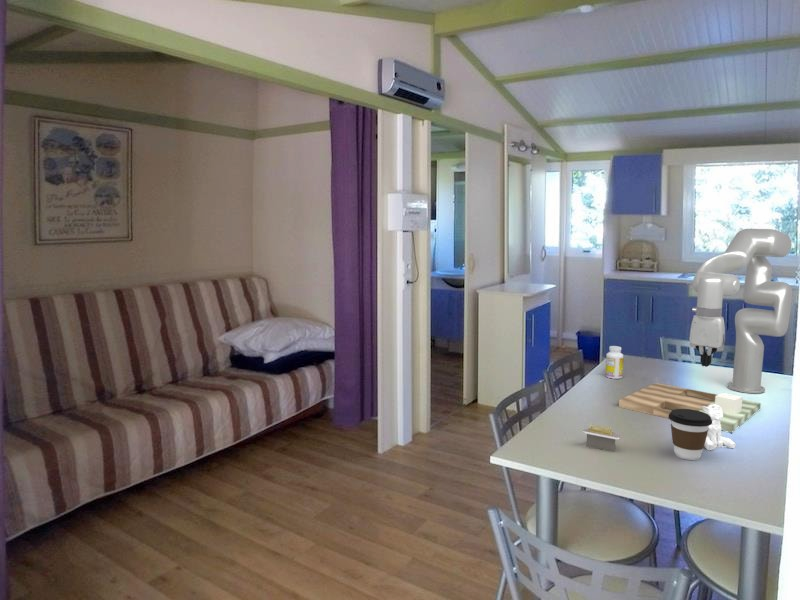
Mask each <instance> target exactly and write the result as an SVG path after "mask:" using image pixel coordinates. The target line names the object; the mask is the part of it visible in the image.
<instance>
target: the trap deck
mask: <svg viewBox="0 0 800 600" xmlns="http://www.w3.org/2000/svg"><path fill="white" fill-rule="evenodd" d="M717 395H718V394H716V393H711V392H705V391H701V390H696V389H695V390H694V389H689V388H685V387H679V386H676V385H675V386H674V385H669V384H664V383H658V382H654V383H652V384H650V385H648V386H646V387H644V388H642V389H639V390H637V391H635V392H633V393H631V394H629V395H627V396H625V397H623V398H620V399H619V400H618V408H623V409H626V410H631V411H635V412H639V413H644V414H647V415H648V414H649V415H653V416H657V417H661V418H665V419H669V418H668V416H669V414H670V412H671V411H672V410H675V409H691V410H697V411H701V412H704V413H706V411H704V410H703V408H702V407H703V406H705V407H708V406H709V405H714V404H715V397H716V396H717ZM761 405H762V403H761V402H757V401H752V400H749V399H748V400H747V399H743V398H742V408H741V412H739V413H737V414H735V415H731V414H727V413H723V417H722V418H721V420H720V424H721V428H722V429H721V430H723V432H726V431H728V432H727V433H730V432H732V431H733V432H734V431H736V430H737V429H738V428H739V427H741V426H742V425H743V424H744V423H746V422H747V421H748V420H749V419H751V418H752V417H753V416H754V415H755V414H754V413H756V412H757V411H758V410H759V409H760V410H761ZM760 410H759V411H760ZM759 411H758V412H759ZM758 412H757V413H758ZM757 413H756V414H757ZM753 414H754V415H753ZM752 415H753V416H752ZM751 416H752V417H751ZM750 417H751V418H750ZM748 418H749V419H748ZM747 419H748V420H747ZM746 420H747V421H746ZM745 421H746V422H745ZM743 422H744V423H743ZM742 423H743V424H742ZM741 424H742V425H741ZM740 425H741V426H740ZM738 426H739V427H738ZM737 427H738V428H737ZM736 428H737V429H736ZM735 429H736V430H735ZM733 432H732V433H733Z"/></svg>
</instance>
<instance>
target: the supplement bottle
mask: <svg viewBox="0 0 800 600" xmlns="http://www.w3.org/2000/svg"><path fill="white" fill-rule="evenodd" d="M608 349H609V351H608V352H607V353H606V357H605V358H606V359H605V377H606V378H607V377H608V379H610V378H612V379H613V380H621V379H622V378H623V374H624V354H623V353H622V347H621V346H617V345H610V346H609V348H608Z"/></svg>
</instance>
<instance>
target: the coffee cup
mask: <svg viewBox="0 0 800 600" xmlns="http://www.w3.org/2000/svg"><path fill="white" fill-rule="evenodd" d="M667 419H669V420H670V423H671V424H670V429H671V430H670V431H671V441H672V444H673V452H674V453H675V456H676V457H677V458H680V459H683V460H687V461H698V460H699V459H700V458H701V456H702V453H703V449H704V448H705V447H704V445H705V441H706V437H707V433H708V427H709V425H711V424H712V419H711V417H710V416H709V415H708V414H706V413H704V412H701V411H697V410H691V409H675V410H672V411H671V412H670V414H669V416H668V418H667Z"/></svg>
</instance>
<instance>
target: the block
mask: <svg viewBox="0 0 800 600" xmlns="http://www.w3.org/2000/svg"><path fill="white" fill-rule="evenodd" d="M742 399H743V396H741V395H736V394H730V393H727V392H722V393H719V394H717V396H716V397H715V404H716V405H719V406H720V407H721V409H722V413H727V414H731V415H735V414H737V413H739V412H741V408H742Z"/></svg>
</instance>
